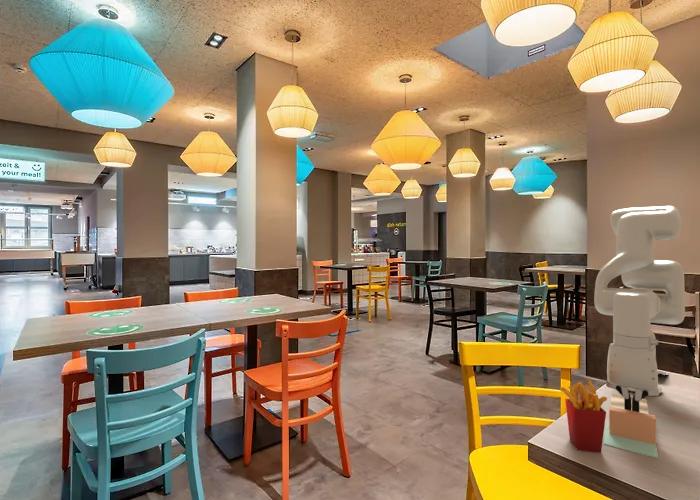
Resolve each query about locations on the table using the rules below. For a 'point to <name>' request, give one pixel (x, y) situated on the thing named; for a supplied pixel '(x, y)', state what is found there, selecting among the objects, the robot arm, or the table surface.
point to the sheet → (619, 403)
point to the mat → (630, 444)
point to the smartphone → (661, 372)
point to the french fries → (585, 417)
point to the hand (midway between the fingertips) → (631, 414)
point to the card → (632, 425)
